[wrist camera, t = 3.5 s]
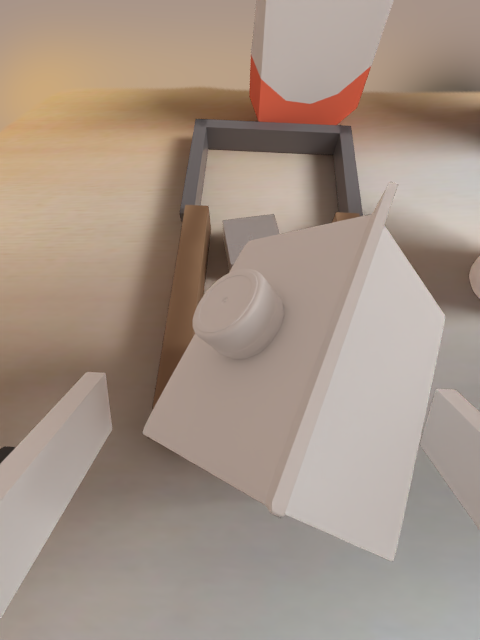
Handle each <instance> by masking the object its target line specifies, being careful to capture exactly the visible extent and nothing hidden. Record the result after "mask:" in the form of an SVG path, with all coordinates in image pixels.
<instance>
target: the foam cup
mask: <svg viewBox="0 0 480 640" xmlns="http://www.w3.org/2000/svg"><path fill="white" fill-rule="evenodd" d="M469 280H470V283H471V287H472V290H473V291H474V293H475V294H476V295H477V296H478V297H479V299H480V256H479V257H478V258H477V259H476V261H475V263H474V264H472V266H471V270H470V273H469Z"/></svg>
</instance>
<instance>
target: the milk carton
mask: <svg viewBox="0 0 480 640" xmlns="http://www.w3.org/2000/svg"><path fill="white" fill-rule="evenodd" d="M397 187H398V184H396V183H393V182H389V183H388V185H387V188H386V190H385V191H384V193H383V195H382V197H381V199H380V201H379V202H378V204H377V206H376V208H375V210H374V212H373V214H370V215H365V216H361V217H356V218H351V219H347V220H342V221H338V222H333V223H328V224H324V225H319V226H314V227H310V228H305V229H301V230H296V231H291V232H287V233H282V234H277V235H273V236H268V237H264V238H259V239H255V240H251V241H249V242H248V243H247V244H246V245H245V246H244V248H243V250H242V251H241V253H240V254H239V256H238V258H237V259H236V261H235V263H234V265H233V266H232V268H231V270H230V272H229V273H228V274H226V275H224V276H223V277H221V278H220V279H218V280H217V281H216V282H215V283H214V284H213V285H212V286H211V287H210V288H209V289H208V290H207V291H206V293H205V294H204V295H203V297H202V299H201V300H200V302H199V304H198V306H197V308H196V310H195V313H194V316H193V329H194V332H195V335H194V336H193V338H192V340H191V342H190V344H189V345H188V347H187V349H186V351H185V352H184V354H183V356H182V358H181V360H180V361H179V363H178V365H177V367H176V369H175V370H174V372H173V374H172V376H171V378H170V379H169V381H168V383H167V385H166V387H165V388H164V390H163V392H162V394H161V396H160V398H159V399H158V401H157V403H156V405H155V407H154V409H153V411H152V412H151V414H150V416H149V418H148V420H147V422H146V424H145V427H144V430H143V433H142V434H144V435H146V436H147V437H149V438H151V439H153V440H154V441H156V442H158V443H159V444H161V445H163V446H165V447H166V448H168V449H170V450H171V451H173V452H175V453H177V454H178V455H180V456H182V457H183V458H185V459H187V460H189V461H190V462H192V463H194V464H195V465H197V466H199V467H201V468H202V469H204V470H206V471H207V472H209V473H211V474H213V475H214V476H216V477H218V478H219V479H221V480H223V481H225V482H226V483H228V484H230V485H231V486H233V487H235V488H237V489H238V490H240V491H242V492H243V493H245V494H247V495H249V496H250V497H252V498H254V499H255V500H257V501H259V502H261V503H262V504H264V505H266V507H267V508H268V510H269V511H270V513H271V514H273V515H275V516H277V517H280V518H281V517H283V516H284V515H287V516H290V517H292V518H294V519H296V520H299V521H301V522H303V523H305V524H308V525H310V526H312V527H314V528H317V529H319V530H321V531H324V532H326V533H328V534H330V535H333V536H335V537H337V538H339V539H342V540H344V541H346V542H348V543H351V544H353V545H355V546H358V547H360V548H362V549H364V550H367V551H369V552H371V553H373V554H376V555H378V556H380V557H382V558H385V559H387V560H389V561H392V562H393V560H394V557H395V554H396V550H397V546H398V541H399V537H400V532H401V527H402V523H403V518H404V513H405V509H406V504H407V499H408V495H409V490H410V485H411V480H412V476H413V471H414V466H415V461H416V457H417V452H418V447H419V443H420V438H421V433H422V428H423V424H424V419H425V414H426V409H427V405H428V400H429V395H430V391H431V386H432V381H433V376H434V372H435V367H436V362H437V357H438V353H439V348H440V343H441V338H442V334H443V328H444V323H445V315H444V313H443V312H442V310H441V309H440V307H439V306H438V304H437V303H436V301H435V300H434V298H433V297H432V295H431V294H430V292H429V291H428V289H427V288H426V286H425V285H424V283H423V282H422V280H421V279H420V277H419V276H418V274H417V273H416V271H415V270H414V268H413V267H412V265H411V264H410V262H409V261H408V260H407V258H406V257H405V255H404V254H403V252H402V251H401V249H400V248H399V246H398V245H397V243H396V242H395V240H394V239H393V237H392V236H391V234H390V233H389V231H388V230H387V228H386V227H385V222H386V219H387V216H388V213H389V210H390V207H391V205H392V202H393V199H394V196H395V193H396V190H397Z"/></svg>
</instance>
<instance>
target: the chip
mask: <svg viewBox="0 0 480 640" xmlns="http://www.w3.org/2000/svg"><path fill="white" fill-rule="evenodd" d="M277 234H279V230H278V226H277V223H276V219H275V215H274V214H270V215H262V216H254V217H246V218H238V219H230V220H223V238H224V246H225V251H226V257H227V262H228V267H229V272H230V270H231V268H232V266H233V265H234V263H235V261H236V259H237V258H238V256H239V254H240V253H241V251H242V250H243V248H244V246H245V245H246V244H247V243H248V242H249V241H251V240H255V239H259V238H264V237H268V236H273V235H277Z"/></svg>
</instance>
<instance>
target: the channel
mask: <svg viewBox="0 0 480 640" xmlns="http://www.w3.org/2000/svg"><path fill="white" fill-rule="evenodd" d="M356 217H360V215H359V213H342V212H336V213H335V216H334V219H333V221H332V223H333V222H338V221H342V220H347V219H351V218H356ZM210 233H211V225H210V216H209V207H208V206H200V205H185V210H184V216H183V222H182V229H181V235H180V241H179V247H178V253H177V259H176V265H175V272H174V278H173V284H172V290H171V296H170V302H169V308H168V315H167V321H166V327H165V333H164V339H163V345H162V352H161V358H160V364H159V370H158V376H157V382H156V388H155V395H154V401H153V407H152V411H153V409H154V407H155V405H156V403H157V401H158V399H159V398H160V396H161V394H162V392H163V390H164V388H165V387H166V385H167V383H168V381H169V379H170V378H171V376H172V374H173V372H174V370H175V369H176V367H177V365H178V363H179V361H180V360H181V358H182V356H183V354H184V352H185V351H186V349H187V347H188V345H189V344H190V342H191V340H192V338H193V336H194V335H195V332H194V329H193V316H194V313H195V310H196V308H197V306H198V304H199V302H200V300H201V299H202V297H203V294H204V285H205V276H206V268H207V259H208V250H209V242H210ZM148 438H149V437H148ZM149 439H151V438H149Z"/></svg>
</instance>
